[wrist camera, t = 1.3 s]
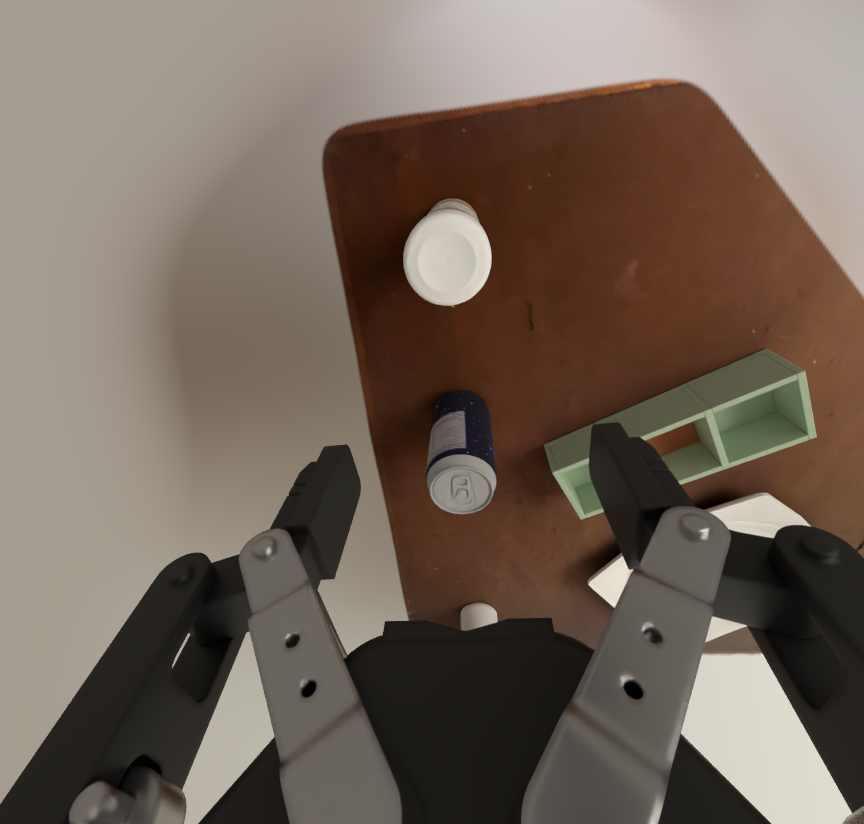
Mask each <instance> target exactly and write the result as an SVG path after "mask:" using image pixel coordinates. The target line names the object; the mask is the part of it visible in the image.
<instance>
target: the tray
mask: <svg viewBox="0 0 864 824" xmlns="http://www.w3.org/2000/svg"><path fill="white" fill-rule="evenodd" d="M615 422H619V423H620V424H621V425H622V427H623V428H624V430H625V431H626V433H627V435H628V436H629V438H630V437H640V438H642V439H643V440H645V441H646V442H648V443H649V444H651V445H652V446H654V448H655V449H656V451H657V452H658V453H659V455H660V456H661V458H662V461H664V462H665V464H666V465H667V466H668V468H669V471H671V472H672V474H673V475H674V476H675V478H676V479H677V481H678V482H679V484H680V485H681V484H684V483H687V482H690V481H693V480H696V479H698V478H701V477H704V476H707V475H710V474H713V473H715V472H718V471H721V470H724V469H727V468H730V467H733V466H736V465H739V464H741V463H744V462H747V461H750V460H753V459H756V458H758V457H761V456H764V455H767V454H770V453H773V452H776V451H778V450H781V449H784V448H787V447H790V446H793V445H796V444H798V443H801V442H804V441H807V440H809V439H812V438H815V437H817V436H816V430H815V424H814V419H813V413H812V407H811V402H810V396H809V390H808V385H807V379H806V373H805V370H803V369H801V368H799V367H798V366H796V365H794V364H792V363H791V362H789V361H787V360H786V359H784V358H782V357H780V356H779V355H777V354H775V353H773V352H772V351H770V350H768V349H764V350H761V351H759V352H757V353H754V354H752V355H750V356H747V357H745V358H743V359H740V360H738V361H736V362H734V363H731V364H729V365H727V366H724V367H722V368H720V369H717V370H715V371H713V372H710V373H708V374H706V375H703V376H701V377H699V378H697V379H694V380H692V381H690V382H687V383H685V384H683V385H680V386H678V387H676V388H673V389H671V390H669V391H666V392H664V393H662V394H660V395H657V396H655V397H653V398H650V399H648V400H646V401H643V402H641V403H639V404H636V405H634V406H632V407H629V408H627V409H625V410H623V411H620V412H618V413H616V414H613V415H611V416H609V417H606V418H604V419H602V420H599V421H597V422H595V423H592V424H590V425H588V426H586V427H583V428H581V429H579V430H576V431H574V432H572V433H569V434H567V435H565V436H562V437H560V438H558V439H555V440H553V441H551V442H549V443H546V444H544V448H545V452H546V455H547V458H548V462H549V465H550V468H551V471H552V474H553V475H554V477H555V479H556V480H557V482H558V483H559V485H560V487H561V488H562V490H563V492H564V493H565V495H566V496H567V498H568V500H569V501H570V503H571V504H572V506H573V508H574V509H575V511H576V513H577V514H578V516H579V517H580V519H584V518H587V517H590V516H593V515H596V514H599V513H602V512H604V510H603V508H602V505H601V503H600V500H599V498H598V496H597V493H596V491H595V488H594V486H593V484H592V481H591V478H590V473H589V452H590V440H591V429H592V426H593V424H603V423H615Z"/></svg>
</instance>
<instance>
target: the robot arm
mask: <svg viewBox="0 0 864 824" xmlns="http://www.w3.org/2000/svg"><path fill="white" fill-rule="evenodd" d="M589 473H590V478H591V481H592V484H593V486H594V488H595V491H596V493H597V496H598V498H599V500H600V503H601V505H602V508H603V510H604V512H605V515H606V517H607V519H608V522H609V524H610V527H611V529H612V531H613V534H614V536H615V538H616V541H617V543H618V546H619V548H620V550H621V553H622V555H623V558H624V560H625V562H626V565H627V567H628V569H629V570H631V569H633V571H632V572H631V574H630V576H629V578H628V581H627V583H626V585H625V587H624V589H623V591H622V593H621V596H620V598H619V600H618V602H617V604H616V606H615V608H614V610H613V613H612V615H611V617H610V619H609V621H608V623H607V625H606V628H605V630H604V632H603V634H602V636H601V638H600V640H599V643H598V645H597V647H596V649H595V650H593V649H592V648H590V647H589V646H587V645H586V644H584V643H582V642H580V641H578V640H576V639H574V638H572V637H569V636H567V635H564V634H561V633H557V632H554V629H553V624H552V619H551V618H524V619H506V620H503V621H499V622H496V623H493V624H489V625H486V626H482V627H479V628H475V629H472V630H467V631H464V630H459V629H455V628H451V627H447V626H443V625H440V624H436V623H432V622H428V621H387V622H386V621H385V625H384V632H383V635H382V636H379V637H376V638H374V639H372V640H370V641H367V642H366V643H364V644H362V645H360V646H359V647H358V648H356V649H355V650H354V651H352V652H351V653H350V654H349V655H348V656H347V654H346V651H345V649H344V648H343V645H342V643H341V641H340V639H339V636H338V634H337V632H336V630H335V628H334V625H333V623H332V621H331V619H330V617H329V614H328V612H327V610H326V608H325V606H324V603H323V601H322V599H321V596H320V594H319V592H318V590H317V589H318V586H319V584H320V581H321V580H323V579H334V578H335V575H336V571H337V568H338V565H339V562H340V559H341V556H342V552H343V549H344V546H345V543H346V539H347V536H348V533H349V530H350V526H351V523H352V520H353V517H354V513H355V510H356V507H357V504H358V501H359V497H360V491H361V484H360V478H359V475H358V472H357V469H356V466H355V463H354V460H353V457H352V454H351V451H350V448H349V446H348V445H336V446H326V447H324V448H323V450H322V452H321V454H320V456H319V458H318V460H317V462H311V463H310V464H308V465H307V466H306V467H305V468H304V469H303V470H302V471H301V472H300V473H299V475H298V477H297V479H296V481H295V483H294V486H293V487H292V488H291V490H290V492H289V496H287V498H286V500H285V501H284V503H283V505H282V507H281V509H280V511H279V513H278V515H277V517H276V519H275V520H274V522H273V524H272V526H271V528H270V530H267V531H264V532H262V533H260V534H258V535H256V536H255V537H253V538H252V539H251V540H250V541H248V543H246V545H245V546H244V547H243V549H242V550H241V553H240V554H238V555H236V556H232V557H229V558H226V559H223V560H220V561H217V562H213V563H211V562H210V560H209V558H208V557H207V556H206V555H205V554H203V553H191V554H187V555H184V556H182V557H180V558H178V559H176V560H174V561H173V562H172V563H170V564H169V565H167V566H166V567H165V568H164V569H163V570H162V571H161V572H160V573H159V575H158V576H157V578H156V579H155V580H154V582H153V583H152V584H151V586H150V587H149V589H148V591H147V592H146V593H145V595H144V596H143V598H142V599H141V600H140V602H139V604H138V605H137V606H136V608H135V609H134V611H133V612H132V614H131V615H130V616H129V618H128V619H127V621H126V622H125V624H124V625H123V627H122V628H121V630H120V631H119V632H118V634H117V635H116V637H115V638H114V640H113V641H112V643H111V644H110V646H109V647H108V648H107V650H106V651H105V653H104V654H103V656H102V657H101V659H100V660H99V662H98V663H97V665H96V666H95V667H94V669H93V671H92V672H91V673H90V675H89V676H88V678H87V679H86V680H85V682H84V683H83V685H82V686H81V688H80V689H79V691H78V692H77V694H76V695H75V696H74V698H73V699H72V701H71V702H70V704H69V705H68V707H67V708H66V710H65V711H64V712H63V714H62V715H61V717H60V718H59V720H58V721H57V723H56V724H55V726H54V727H53V728H52V730H51V731H50V733H49V734H48V736H47V737H46V739H45V740H44V742H43V743H42V744H41V746H40V748H39V749H38V750H37V752H36V753H35V755H34V756H33V758H32V759H31V760H30V762H29V763H28V765H27V766H26V768H25V769H24V771H23V772H22V774H21V775H20V776H19V778H18V780H17V781H16V782H15V784H14V785H13V787H12V788H11V790H10V791H9V793H8V794H7V795H6V797H5V798H4V800H3V801H2V803H1V804H0V824H184V821H185V815H186V798H185V796H184V793H183V792H182V789H183V786H184V784H185V781H186V779H187V776H188V774H189V771H190V769H191V767H192V764H193V762H194V759H195V757H196V754H197V752H198V749H199V747H200V745H201V742H202V739H203V737H204V735H205V732H206V730H207V727H208V725H209V722H210V720H211V718H212V715H213V713H214V710H215V708H216V705H217V703H218V700H219V698H220V696H221V693H222V691H223V688H224V686H225V683H226V681H227V678H228V676H229V673H230V671H231V669H232V666H233V664H234V661H235V659H236V656H237V654H238V651H239V649H240V647H241V644H242V642H243V639H244V637H245V634H246V632H249V631H250V635H251V639H252V643H253V647H254V652H255V656H256V660H257V664H258V668H259V672H260V676H261V681H262V685H263V689H264V693H265V698H266V702H267V706H268V710H269V714H270V719H271V723H272V727H273V731H274V735H275V737H274V738H273V739H272V740H271V742H270V743H269V744H268V745H267V746H266V747H265V748H264V750H263V751H262V752H261V753H260V754H259V755H258V756H257V758H256V759H255V760H254V761H253V762H252V763H251V764H250V765H249V767H248V768H247V769H246V770H245V771H244V772H243V773H242V775H241V776H240V777H239V778H238V779H237V780H236V781H235V782H234V784H233V785H232V786H231V787H230V788H229V789H228V790H227V792H226V793H225V794H224V795H223V796H222V797H221V798H220V800H219V801H218V802H217V803H216V804H215V805H214V806H213V807H212V809H211V810H210V811H209V812H208V813H207V814H206V815H205V817H204V818H203V819H202V820H201V821H200V822H199V823H198V824H771V823H770V822H769V821H768V820H767V819H766V818H765V817H764V816H763V815H762V814H761V813H760V812H759V811H758V810H757V809H756V808H755V807H754V806H753V805H752V804H751V803H750V802H749V801H748V800H747V799H746V798H745V797H744V796H743V795H742V794H741V793H740V792H739V791H738V790H737V789H736V788H735V787H734V786H733V785H732V784H731V783H730V782H729V781H728V780H727V779H726V778H725V777H724V776H723V775H722V774H721V773H720V772H719V771H718V770H717V769H716V768H715V767H714V766H713V765H712V764H711V763H710V762H709V761H708V760H707V759H706V758H705V757H704V756H703V755H702V754H701V753H700V752H699V751H698V750H697V749H696V748H695V747H694V746H693V745H692V744H691V743H690V742H688V740H687V739H686V738H685V737H684V736H683V735H682V734H681V730H682V726H683V722H684V719H685V714H686V711H687V708H688V704H689V700H690V696H691V693H692V689H693V685H694V682H695V678H696V674H697V671H698V667H699V663H700V659H701V656H702V652H703V648H704V645H705V641H706V637H707V634H708V630H709V626H710V623H711V619H712V616H713V617H717V618H720V619H724V620H728V621H732V622H736V623H740V624H743V625H747V626H748V628H749V630H750V632H751V633H752V635H753V637H754V639H755V641H756V642H757V644H758V646H759V648H760V650H761V651H762V653H763V655H764V657H765V658H766V660H767V662H768V664H769V666H770V667H771V669H772V671H773V673H774V674H775V676H776V678H777V680H778V682H779V683H780V685H781V687H782V689H783V690H784V692H785V694H786V696H787V698H788V699H789V701H790V703H791V705H792V707H793V708H794V710H795V712H796V714H797V715H798V717H799V719H800V721H801V723H802V724H803V726H804V728H805V730H806V731H807V733H808V735H809V737H810V739H811V740H812V742H813V744H814V746H815V748H816V749H817V751H818V753H819V755H820V756H821V758H822V760H823V762H824V764H825V765H826V767H827V769H828V771H829V772H830V774H831V776H832V778H833V780H834V781H835V783H836V785H837V787H838V789H839V790H840V792H841V794H842V796H843V797H844V799H845V801H846V803H847V804H848V806H849V808H850V810H851V812H852V814H851V815H850V816H848V817H847V818H846V819H845V821H844V822H843V824H864V558H863V557H862V556H861V555H860V554H859V553H858V552H857V551H856V550H855V549H854V548H853V547H852V546H851V545H849V544H848V543H847V542H845V541H844V540H842V539H841V538H839V537H837V536H835V535H833V534H831V533H829V532H826V531H824V530H821V529H818V528H815V527H810V526H805V525H789V526H785V527H782V528H780V529H779V530H778V531H777V533H776V534H775V537H774V538H769V537H764V536H758V535H753V534H747V533H742V532H737V531H733V530H730V529H728V528H727V526H726V525H725V524H724V523H723V522H722V521H721V520H720V519H719V518H718V517H716V516H715V515H713V514H711V513H709V512H707V511H705V510H702V509H699V508H696V507H695V505H694V504H693V502H692V501H691V499H690V498H689V496H688V495H687V494H686V492H685V491H684V489H683V488H682V486H681V485H680V484H679V482H678V481H677V479H676V478H675V476H674V475H673V474H672V472H671V471H669V468H668V466H667V465H666V464H665V462H664V461H662V458H661V456H660V455H659V453H658V452H657V451H656V449H655V448H654V446H652V445H651V444H649V443H648V442H646V441H645V440H643V439H642V438H640V437H630V438H629V436H628V435H627V433H626V431H625V430H624V428H623V427H622V425H621V424H620V423H619V422H615V423H603V424H593V426H592V429H591V440H590V452H589ZM188 633H189V634H190V636H189V638H188V640H187V642H186V644H185V646H184V648H183V650H182V652H181V653H180V655H179V657H178V659H177V661H176V663H175V665H174V667H173V669H172V665H173V662H174V659H175V657H176V655H177V653H178V651H179V649H180V647H181V645H182V643H183V642H184V640H185V638H186V636H187V634H188Z"/></svg>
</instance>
